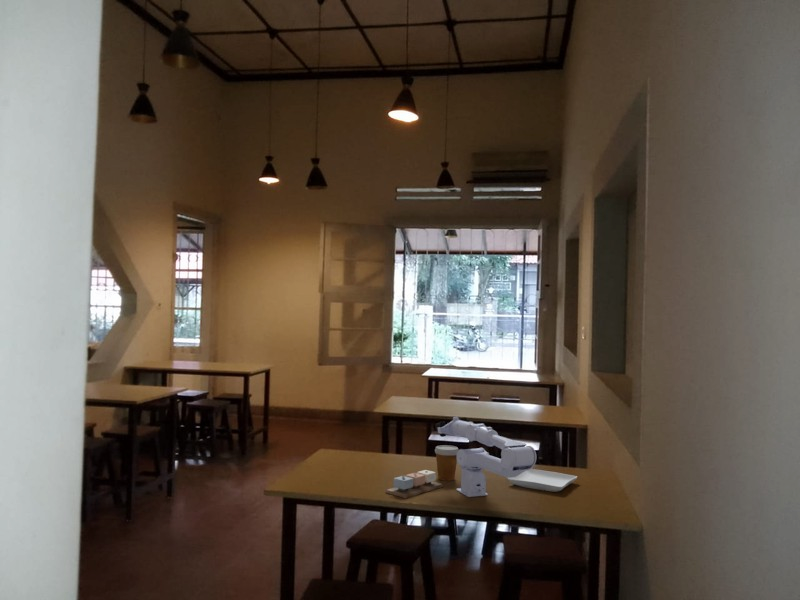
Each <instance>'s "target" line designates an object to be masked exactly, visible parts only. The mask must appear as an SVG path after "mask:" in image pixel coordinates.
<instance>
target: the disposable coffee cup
mask: <svg viewBox="0 0 800 600" xmlns="http://www.w3.org/2000/svg"><path fill="white" fill-rule="evenodd" d="M459 450H460V449H459V448H458V447H457V446H456V445H455V446H454V445H450V444H449V445H447V444H445V445H444V444H443V445H437V446H435V449H434V452H435V457H436V459H435V460H436V470H437V471H436V472H437V479H439V480H440V481H447V482H449V481H453V480H455V476H456V469H457V464H458V462H457V458H456V457H457V452H458V451H459Z"/></svg>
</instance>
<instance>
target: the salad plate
mask: <svg viewBox="0 0 800 600" xmlns="http://www.w3.org/2000/svg"><path fill="white" fill-rule="evenodd" d="M577 478H578V476H577V475H572V474H566V473H561V472H557V471H556V472H555V471H549V470H543V469H534V468H532V469H529V470H526V471H524V472H523V473H521V474H519V475H518V476H516V477H510V478H507V480H508V482H510V483H511V484H513V485H516V486H518V487H523V488H527V489H533V490H534V489H535V490H539V491H540V490H541V491H544V490H545V492H553V493H556V492H560V491H562V490H563V489H565V487H567V486H569V485H570V484H572V483H573V482H575V481H576V480H577Z"/></svg>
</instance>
